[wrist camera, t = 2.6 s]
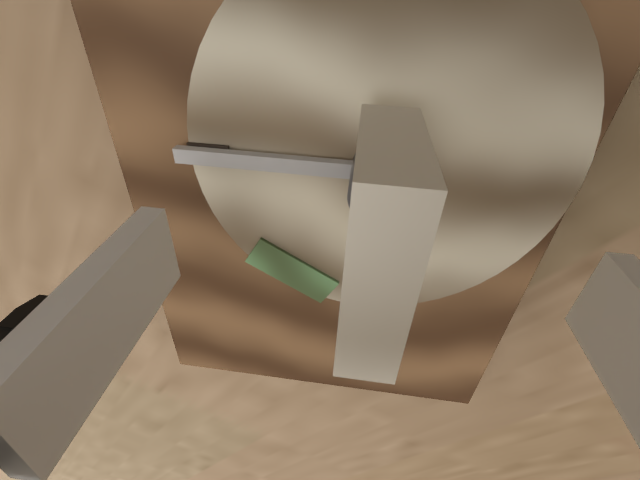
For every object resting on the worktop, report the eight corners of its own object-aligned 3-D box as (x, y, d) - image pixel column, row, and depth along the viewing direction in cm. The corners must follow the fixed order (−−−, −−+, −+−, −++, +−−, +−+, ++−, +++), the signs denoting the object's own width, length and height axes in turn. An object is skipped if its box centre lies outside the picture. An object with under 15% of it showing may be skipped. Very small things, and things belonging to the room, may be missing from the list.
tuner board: (45, -216, 13) (-15, -251, 11) (733, -211, 11) (811, -252, 9) (190, 343, 30) (178, 368, 28) (463, 379, 28) (469, 408, 27)
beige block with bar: (166, 70, 16) (-11, 148, 8) (418, 88, 15) (457, 191, 8) (193, 211, 20) (89, 343, 13) (391, 231, 19) (400, 385, 12)
